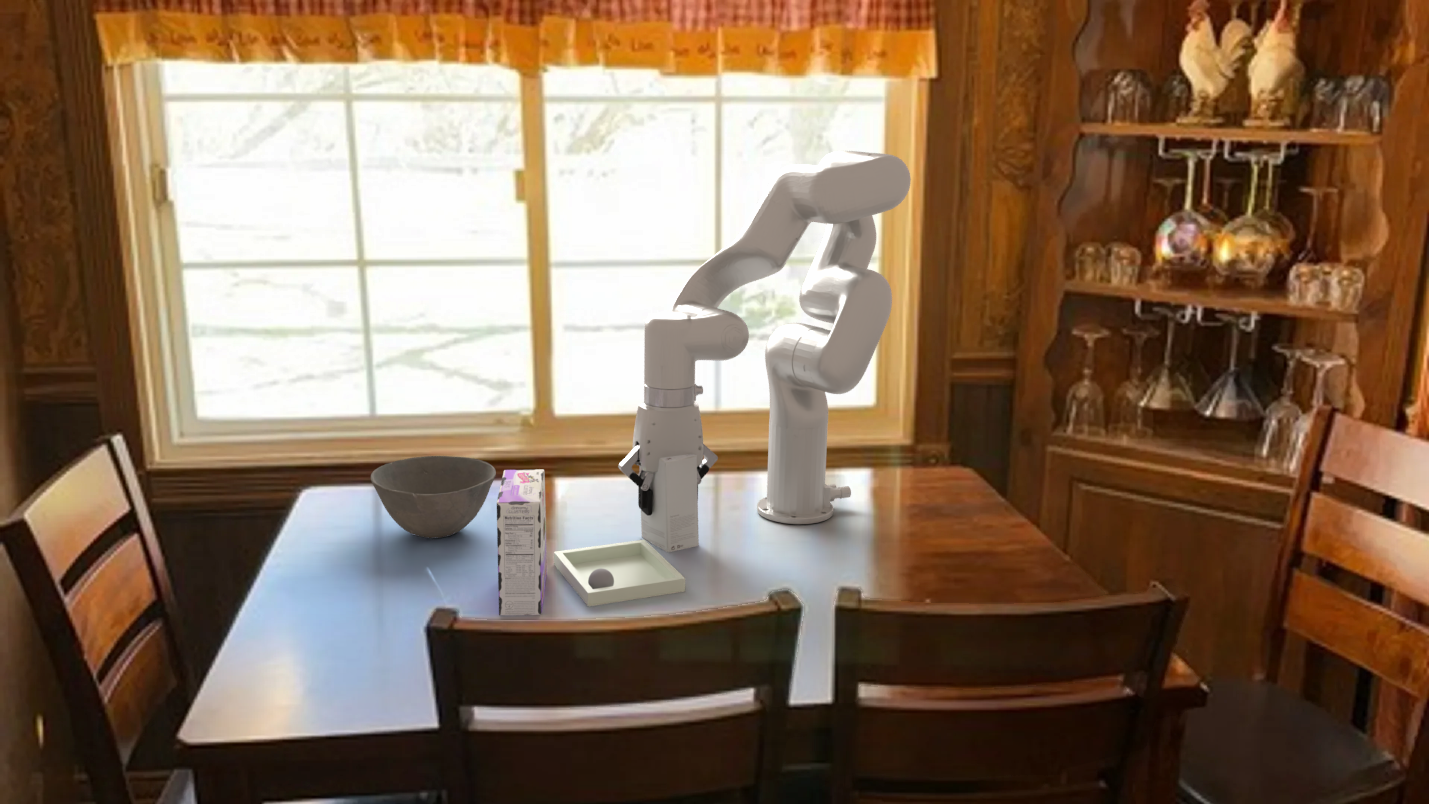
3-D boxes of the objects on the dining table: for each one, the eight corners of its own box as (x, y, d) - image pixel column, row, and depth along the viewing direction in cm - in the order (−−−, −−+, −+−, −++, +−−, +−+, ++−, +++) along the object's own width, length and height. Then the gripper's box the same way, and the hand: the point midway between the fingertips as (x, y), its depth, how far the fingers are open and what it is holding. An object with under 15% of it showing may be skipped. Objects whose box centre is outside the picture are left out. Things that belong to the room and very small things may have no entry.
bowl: (370, 559, 180) (366, 495, 177) (377, 516, 198) (374, 457, 195) (499, 552, 184) (497, 488, 181) (495, 510, 201) (493, 452, 199)
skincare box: (699, 549, 186) (701, 455, 183) (665, 556, 183) (666, 461, 179) (670, 532, 193) (671, 441, 189) (637, 539, 190) (638, 447, 186)
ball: (609, 586, 170) (609, 563, 169) (617, 596, 167) (617, 572, 166) (585, 590, 169) (584, 566, 168) (593, 599, 166) (592, 575, 165)
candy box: (506, 579, 174) (503, 468, 170) (547, 578, 174) (546, 467, 170) (497, 620, 161) (494, 500, 156) (542, 619, 161) (540, 500, 157)
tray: (644, 555, 184) (644, 539, 183) (685, 595, 169) (685, 578, 169) (554, 567, 178) (553, 551, 177) (588, 610, 164) (588, 593, 163)
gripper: (712, 385, 189) (710, 496, 193) (605, 394, 182) (606, 509, 187) (732, 397, 182) (730, 511, 187) (622, 406, 176) (622, 525, 180)
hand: (668, 509), depth 187 cm, fingers closed on skincare box, 6 cm apart
